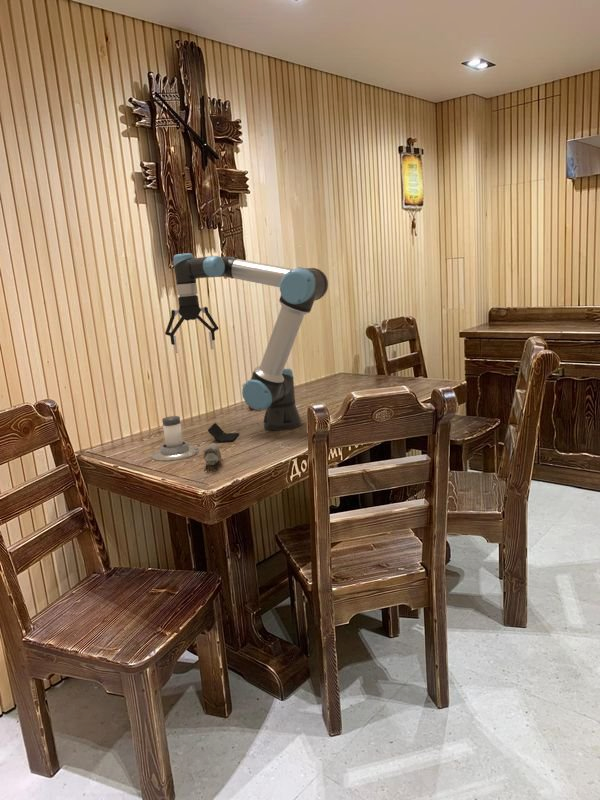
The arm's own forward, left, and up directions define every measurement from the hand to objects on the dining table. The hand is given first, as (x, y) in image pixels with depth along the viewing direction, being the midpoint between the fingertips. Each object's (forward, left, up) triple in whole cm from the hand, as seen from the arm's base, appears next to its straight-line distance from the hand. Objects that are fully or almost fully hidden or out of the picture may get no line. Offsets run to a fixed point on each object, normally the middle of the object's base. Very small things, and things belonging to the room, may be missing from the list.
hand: (194, 351), depth 232 cm
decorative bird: (-28, +36, -33) cm, 57 cm away
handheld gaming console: (-14, +7, -33) cm, 37 cm away
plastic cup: (0, -42, -33) cm, 53 cm away
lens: (-7, +28, -32) cm, 43 cm away
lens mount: (-7, +28, -33) cm, 44 cm away
